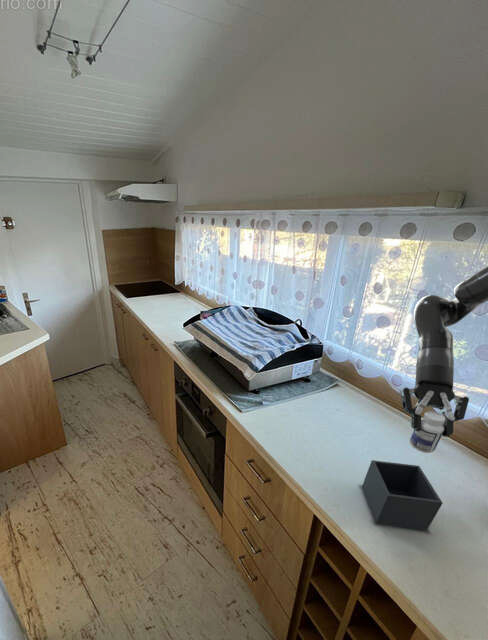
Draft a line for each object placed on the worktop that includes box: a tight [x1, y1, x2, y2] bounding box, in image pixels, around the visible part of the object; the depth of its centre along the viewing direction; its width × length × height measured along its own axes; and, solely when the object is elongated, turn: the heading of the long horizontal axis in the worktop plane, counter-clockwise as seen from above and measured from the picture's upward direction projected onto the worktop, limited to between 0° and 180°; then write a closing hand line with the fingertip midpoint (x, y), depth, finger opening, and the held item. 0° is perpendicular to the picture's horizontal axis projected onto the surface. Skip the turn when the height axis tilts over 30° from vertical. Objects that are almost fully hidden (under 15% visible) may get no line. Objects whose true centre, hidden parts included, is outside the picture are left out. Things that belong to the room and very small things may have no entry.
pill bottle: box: [409, 410, 445, 454], centre depth 76 cm, size 5×5×10 cm
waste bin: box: [361, 459, 443, 532], centre depth 76 cm, size 11×11×10 cm
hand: (431, 433), depth 74 cm, fingers closed on pill bottle, 5 cm apart
